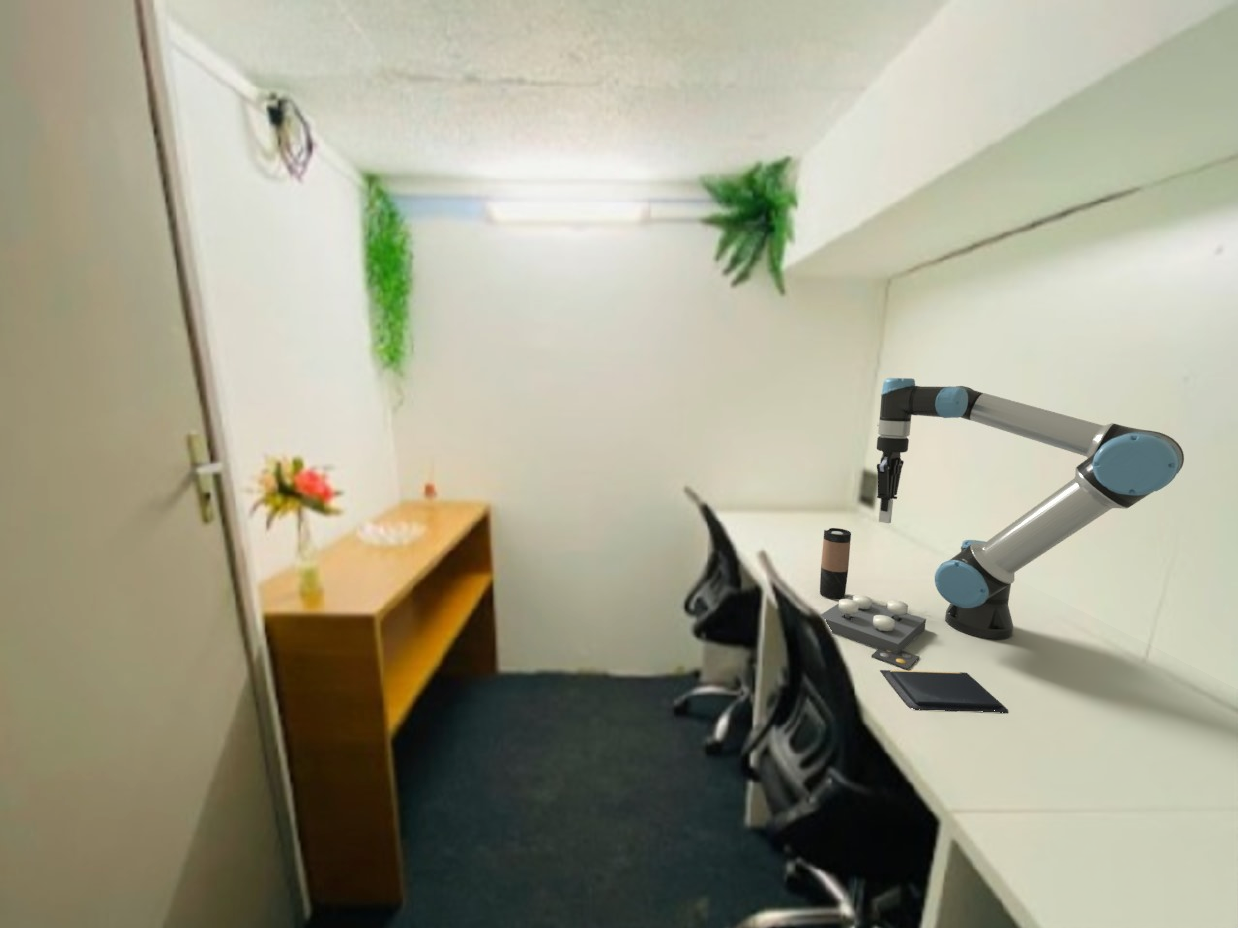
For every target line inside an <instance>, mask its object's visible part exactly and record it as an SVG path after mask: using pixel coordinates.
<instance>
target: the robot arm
mask: <svg viewBox="0 0 1238 928" xmlns="http://www.w3.org/2000/svg"><path fill="white" fill-rule="evenodd" d="M880 397H881V398H880V408H879V409H880V410H879V421H878V422H877V424H876V425H877V427H878V430H877V431H878V432H877V434H878V435H879V436H878V437H877V441H876V450H878V451H881V452H882V455H881V458H880V462H879V463H877V464H876V470H877V471H876V472H877V496H876V498H877V499H879V500H880V502H879V513H878V514H879V515H878V522H879V523H884V524H890V523H892V515H893V505H894V500H897V499H898V496H897V495H898V490H899V484H900V480H901V479H900V478H901V475H902V469H903V467H904V460H902V457H901V454H902V453H907V452H908V449H909V443H910V439H909V438H908V437H909V436H910V435H911V423H912V416H922V417H933V418H934V417H936V418H943V419H952V418H953V419H954V418H955V419H958V418H961V419H964V420H968V421H972V422H974V423H978V424H982V425H984V426H987V427H991V428H994V429H996V430H997V429H998V430H1001V431H1003V432H1007V433H1011V434H1014V435H1016V436H1020V437H1023V438H1026V439H1028V440H1032V441H1035V442H1038V443H1042V444H1045V445H1047V446H1048V445H1049V446H1051V447H1054V448H1058V449H1060V450H1065V451H1066V452H1071V453H1074V454H1077V455H1080V456H1083V457H1087V458H1086V459H1085V460H1084V461H1082V462H1081V463H1080V464H1078V465H1077V466H1076V467H1075V474H1074V475H1075V476H1074V478H1072V479H1071V480H1069V481H1068V482H1067V483H1066V484H1064V485H1063V486H1062V487H1060V488H1059V489H1058V490H1056V491H1054V492H1053V493H1052V494H1051V495H1049V496H1048V497H1046V498H1045V499H1044V500H1042V501H1041V502H1039V503H1038V504H1037V505H1036V506H1034V507H1033V508H1031V509H1030V510H1028V511H1027V512H1025V513H1024V514H1022V515H1021V516H1020V517H1019V518H1017V519H1016V520H1015V521H1014V522H1012V523H1010V524H1009V525H1008V526H1006V527H1005V528H1004V529H1002V530H1001V531H999V532H998V533H997V534H995V535H994V536H992V537H991V538H990V539H988V540H987V541H984V540H983V541H982V540H976V539H965V540H963V541H962V544H961V546H960V552H959V553H957V554H956V555H955V556H953V557H951V559H948V560H946V561H944V562H943V563H941V564H940V565H939V566H938V568H937V569H936V571H935V574H934V584H935V587H936V590H937V592H938V593H939V595H940V596H941V597H942V598H943V599H944V600H945V601H946V602H948V604H949V605H948V607H947V608H946V611H945V616H944V619H945V622H946V623H947V625H949V626H950V627H952V628H954V629H955V630H957V631H960V632H961V633H964V634H967V635H970V636H974V637H978V638H984V639H987V640H988V639H989V640H1005V639H1008V638H1012V636H1013V632H1014V624H1013V623H1014V622H1013V620H1012V615H1011V612H1010V611H1011V610H1010V606H1009V600H1010V593H1011V588H1012V584H1013V583H1014V582H1015V573H1017V571H1020V569H1022V568H1024V567H1026V566H1027V565H1028V564H1030V563H1031V562H1033V561H1035V560H1036V559H1037V558H1040V557H1041V556H1042V555H1043V554H1045V553H1047V552H1048V551H1049V550H1051V549H1053V548H1054V547H1056V546H1057V545H1059V544H1060V543H1062V542H1063V541H1065V540H1066V539H1068V538H1069V537H1071V536H1072V535H1074V534H1075V533H1077V532H1078V531H1080V530H1081V529H1083V528H1084V527H1086V526H1088V525H1089V524H1091V523H1093V521H1095V520H1096V519H1098V518H1099V517H1101V516H1103V515H1105V514H1106V513H1107V512H1109V511H1111V510H1112V509H1124V510H1127V509H1129V508H1130V507H1132V506H1134V505H1136V503H1138V502H1140V501H1141V500H1143V499H1145V498H1146V497H1148V496H1150V495H1151V494H1152V493H1154V492H1158V491H1159V490H1161V489H1163V488H1165V487H1167V486H1168V485H1169V484H1170V483H1172V482H1173V480H1174V479H1175V478H1176V476H1177V475H1178V474H1179V473H1180V471H1181V470H1182V468H1183V466H1184V462H1185V454H1184V451H1183V448H1182V446H1181V445H1180V444H1179V443H1178V442H1177V441H1176V440H1175V438H1173V437H1171V436H1169V435H1167V434H1164V433H1163V432H1159V431H1153V430H1147V429H1140V428H1134V427H1130V426H1126V425H1121V424H1117V423H1113V422H1111V423H1108V424H1106V425H1103V424H1100V423H1099V424H1098V423H1096V422H1091V421H1088V420H1083V419H1081V418H1077V417H1073V416H1069V415H1067V414H1062V413H1058V412H1055V411H1051V410H1048V409H1044V408H1041V407H1036V406H1033V405H1029V404H1026V403H1021V402H1019V401H1015V400H1011V399H1007V398H1004V397H1000V396H996V395H993V394H989V393H984V392H981V391H978V390H974V389H973V388H971V387H968V386H965V385H959V386H958V385H957V386H921V385H916V381H915V379H914V378H912V377H911V378H907V377H906V378H905V377H904V378H903V377H900V378H899V377H896V378H895V377H889V378H885V380H884V381H883V385H882V390H881V394H880Z"/></svg>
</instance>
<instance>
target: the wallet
mask: <svg viewBox="0 0 1238 928" xmlns="http://www.w3.org/2000/svg"><path fill="white" fill-rule="evenodd" d="M879 672H880V673H881V674H882V676H883V678H884V679H885V680H886V682H887V683H888V684H889V685H890V686H891V688H892V689H893V690H894V692H895V693H896V694H897V695H898V697H899V698H900V699H901V700H902V701H903V703H904V704H905V705H906V706H907V707H908V708H909V709H911V708H913V709H915V710H914V711H922V710H945V711H944V712H957V711H983V712H1000V713H999V714H1009V710H1008V708H1007V707H1006V706H1005V705H1004V704H1002V703H1001V702H1000V701H999V700H998V699H997V698H996V697H995V696H994V695H992V694H991V692H989V691H988V690H987V689H986V688H985V687H983V686H982V685H981V683H979V682H978V681H977V680H976V679H975V678H974V677H972V676H971V675H970V674H969V673H968V672H961V671H960V672H958V671H929V670H926V671H925V670H905V669H903V670H899V669H898V670H897V669H891V670H889V669H888V670H887V669H879ZM919 709H920V710H919ZM994 710H995V711H994ZM983 712H982V713H983ZM1002 712H1003V713H1002Z"/></svg>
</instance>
